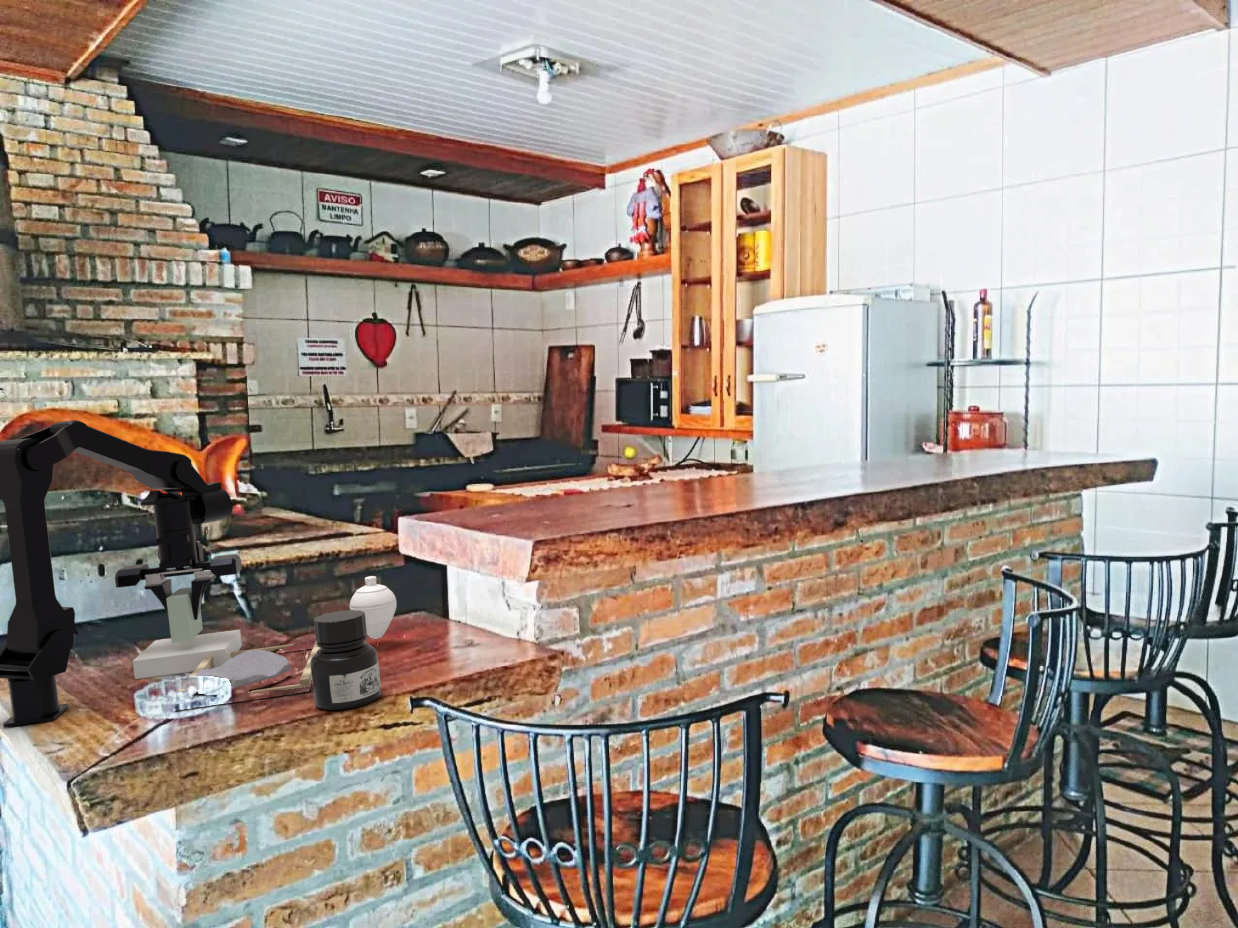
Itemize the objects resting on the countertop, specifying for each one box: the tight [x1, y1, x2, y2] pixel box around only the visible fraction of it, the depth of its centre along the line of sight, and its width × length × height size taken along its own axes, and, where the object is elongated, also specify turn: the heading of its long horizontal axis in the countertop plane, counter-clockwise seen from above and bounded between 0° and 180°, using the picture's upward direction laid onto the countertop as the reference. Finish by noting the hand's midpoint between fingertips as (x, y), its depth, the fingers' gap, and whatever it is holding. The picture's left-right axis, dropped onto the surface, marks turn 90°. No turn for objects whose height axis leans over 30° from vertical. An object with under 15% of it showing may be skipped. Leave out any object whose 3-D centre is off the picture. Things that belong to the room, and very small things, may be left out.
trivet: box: [132, 629, 243, 680], centre depth 159 cm, size 14×14×3 cm
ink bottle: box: [310, 609, 382, 711], centre depth 130 cm, size 10×9×12 cm
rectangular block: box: [166, 587, 204, 643], centre depth 159 cm, size 9×3×8 cm, turn 13°
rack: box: [177, 642, 320, 693], centre depth 147 cm, size 27×18×2 cm
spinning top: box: [349, 575, 397, 640], centre depth 159 cm, size 8×8×12 cm
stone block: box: [196, 650, 292, 688], centre depth 143 cm, size 12×5×10 cm
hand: (185, 620), depth 159 cm, fingers closed on rectangular block, 3 cm apart
